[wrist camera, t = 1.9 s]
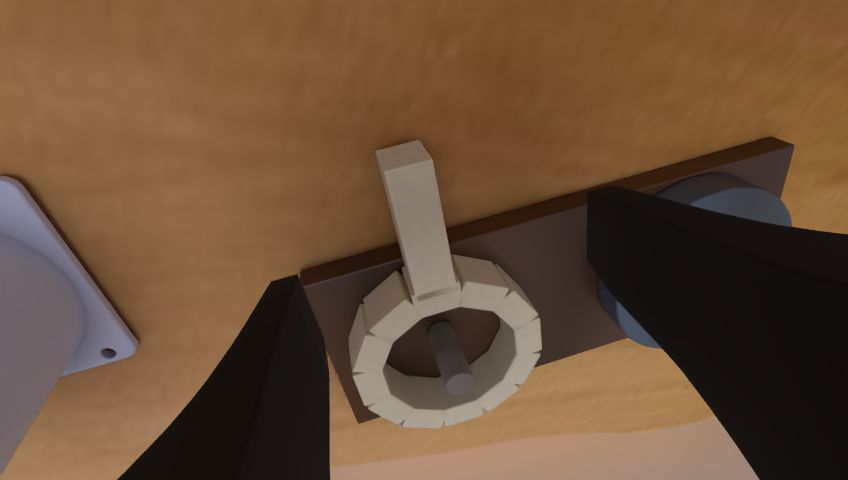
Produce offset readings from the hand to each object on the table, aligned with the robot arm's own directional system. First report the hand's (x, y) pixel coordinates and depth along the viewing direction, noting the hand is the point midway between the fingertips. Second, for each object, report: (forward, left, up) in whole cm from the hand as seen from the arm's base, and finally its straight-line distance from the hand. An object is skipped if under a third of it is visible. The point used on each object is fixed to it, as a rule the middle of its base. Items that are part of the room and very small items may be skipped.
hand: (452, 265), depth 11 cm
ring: (0, -6, -6) cm, 8 cm away
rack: (+6, -8, -8) cm, 12 cm away
